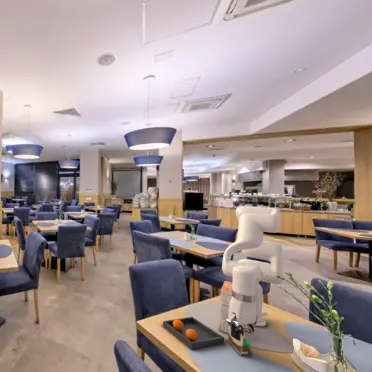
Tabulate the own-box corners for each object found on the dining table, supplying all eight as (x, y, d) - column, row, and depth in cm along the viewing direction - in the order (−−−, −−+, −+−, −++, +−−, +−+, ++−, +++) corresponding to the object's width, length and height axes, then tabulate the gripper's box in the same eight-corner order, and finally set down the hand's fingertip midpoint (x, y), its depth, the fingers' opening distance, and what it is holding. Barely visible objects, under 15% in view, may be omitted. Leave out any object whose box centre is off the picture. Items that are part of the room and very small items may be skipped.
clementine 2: (191, 335, 107) (191, 326, 107) (200, 342, 103) (200, 332, 103) (183, 337, 106) (183, 327, 106) (191, 344, 102) (192, 333, 102)
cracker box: (223, 319, 122) (224, 280, 122) (238, 324, 118) (239, 283, 118) (219, 330, 112) (220, 288, 112) (235, 336, 108) (236, 292, 108)
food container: (260, 360, 93) (262, 336, 93) (243, 358, 95) (244, 334, 94) (241, 340, 105) (242, 319, 105) (225, 338, 107) (227, 316, 106)
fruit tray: (191, 321, 120) (192, 316, 120) (224, 343, 104) (224, 337, 104) (162, 326, 115) (162, 321, 115) (191, 349, 99) (191, 343, 99)
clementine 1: (178, 326, 115) (178, 317, 115) (186, 332, 110) (186, 322, 110) (170, 327, 113) (170, 318, 113) (178, 333, 109) (178, 323, 109)
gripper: (248, 290, 106) (247, 329, 106) (219, 294, 101) (218, 334, 101) (268, 298, 98) (267, 339, 98) (237, 302, 94) (236, 345, 94)
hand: (242, 336), depth 100 cm, fingers closed on food container, 7 cm apart
